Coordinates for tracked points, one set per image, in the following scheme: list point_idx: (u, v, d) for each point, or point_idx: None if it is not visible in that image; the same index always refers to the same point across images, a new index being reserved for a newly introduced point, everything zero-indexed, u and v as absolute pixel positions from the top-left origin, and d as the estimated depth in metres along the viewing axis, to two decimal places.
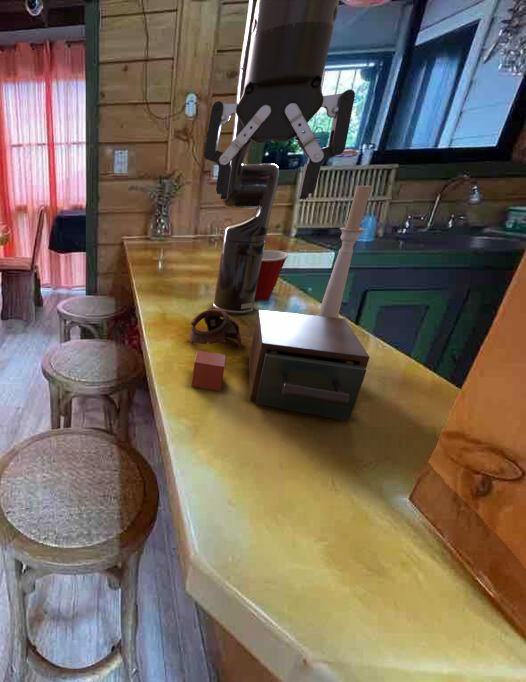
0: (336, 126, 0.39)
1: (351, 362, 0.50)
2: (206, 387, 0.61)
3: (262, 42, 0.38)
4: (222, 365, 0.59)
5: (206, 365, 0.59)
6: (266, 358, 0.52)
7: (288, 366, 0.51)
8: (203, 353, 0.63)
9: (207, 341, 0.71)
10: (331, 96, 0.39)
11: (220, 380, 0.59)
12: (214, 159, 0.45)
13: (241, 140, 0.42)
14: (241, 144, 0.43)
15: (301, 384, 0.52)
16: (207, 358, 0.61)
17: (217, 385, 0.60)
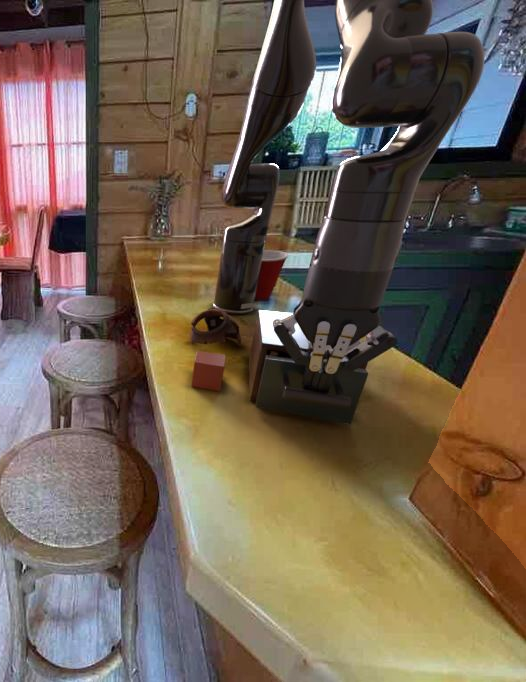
0: (364, 353, 0.43)
1: None
2: (206, 387, 0.61)
3: (325, 276, 0.40)
4: (222, 365, 0.59)
5: (206, 365, 0.59)
6: (266, 361, 0.51)
7: (288, 368, 0.51)
8: (203, 353, 0.63)
9: (207, 341, 0.71)
10: (382, 330, 0.42)
11: (220, 380, 0.59)
12: (303, 363, 0.47)
13: (319, 351, 0.45)
14: (322, 353, 0.45)
15: (301, 387, 0.51)
16: (207, 358, 0.61)
17: (217, 385, 0.60)
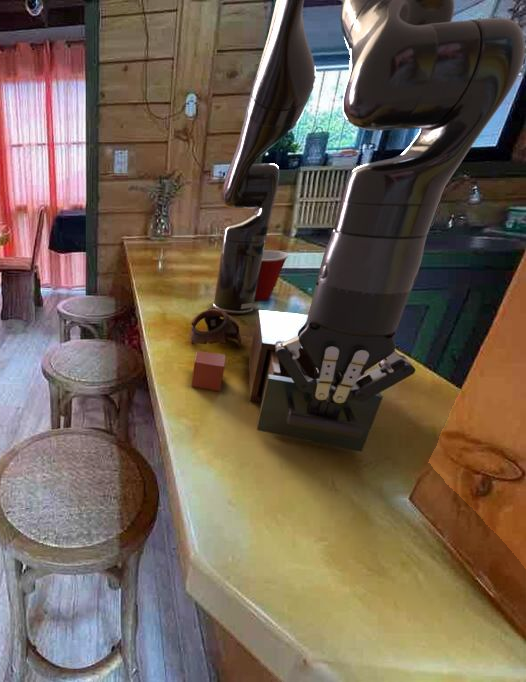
0: (377, 381, 0.39)
1: None
2: (206, 387, 0.61)
3: (335, 297, 0.36)
4: (222, 365, 0.59)
5: (206, 365, 0.59)
6: (269, 381, 0.46)
7: (293, 390, 0.46)
8: (203, 353, 0.63)
9: (207, 341, 0.71)
10: (397, 357, 0.38)
11: (220, 380, 0.59)
12: (309, 390, 0.42)
13: (327, 378, 0.40)
14: (330, 381, 0.40)
15: None
16: (207, 358, 0.61)
17: (217, 385, 0.60)
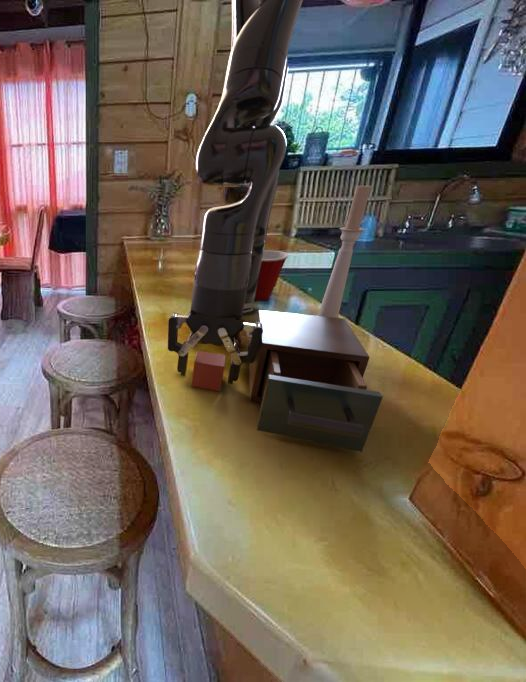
0: (250, 346, 0.56)
1: (364, 386, 0.45)
2: (206, 387, 0.61)
3: (199, 292, 0.55)
4: (222, 365, 0.59)
5: (206, 365, 0.59)
6: (269, 381, 0.46)
7: (293, 390, 0.46)
8: (203, 353, 0.63)
9: None
10: (249, 326, 0.56)
11: (220, 380, 0.59)
12: (175, 350, 0.62)
13: (191, 344, 0.59)
14: (192, 346, 0.59)
15: (307, 410, 0.46)
16: (207, 358, 0.61)
17: (217, 385, 0.60)
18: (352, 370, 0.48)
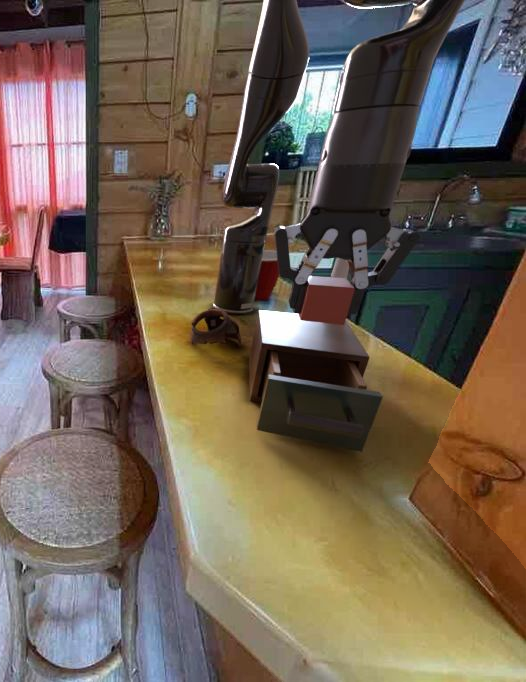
0: (390, 259, 0.41)
1: (364, 386, 0.45)
2: (323, 320, 0.44)
3: (334, 175, 0.38)
4: (351, 286, 0.42)
5: (327, 288, 0.43)
6: (269, 381, 0.46)
7: (293, 390, 0.46)
8: (315, 277, 0.46)
9: (207, 341, 0.71)
10: (398, 230, 0.40)
11: (346, 308, 0.43)
12: (289, 277, 0.45)
13: (314, 261, 0.43)
14: (315, 265, 0.43)
15: (307, 410, 0.46)
16: (324, 281, 0.45)
17: (341, 316, 0.44)
18: (352, 370, 0.48)
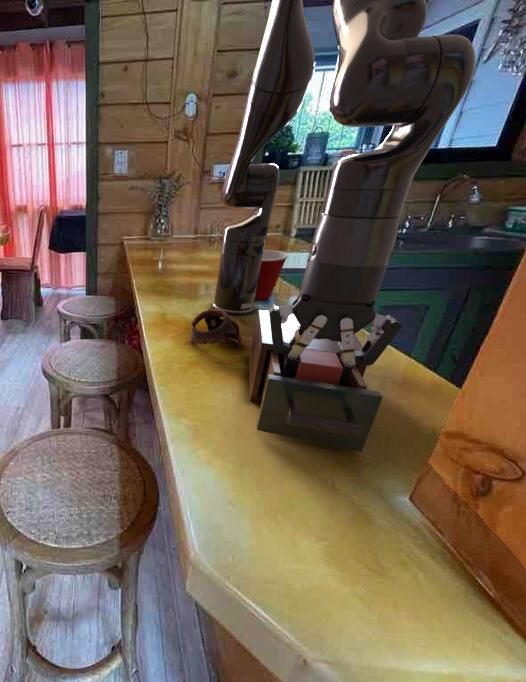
0: (375, 344, 0.44)
1: (364, 386, 0.45)
2: None
3: (322, 271, 0.42)
4: (339, 366, 0.46)
5: (318, 366, 0.46)
6: (269, 381, 0.46)
7: (293, 390, 0.46)
8: (307, 351, 0.50)
9: (207, 341, 0.71)
10: (382, 318, 0.43)
11: None
12: (282, 352, 0.49)
13: (305, 342, 0.46)
14: (306, 344, 0.46)
15: (307, 410, 0.46)
16: (315, 357, 0.48)
17: None
18: (352, 370, 0.48)
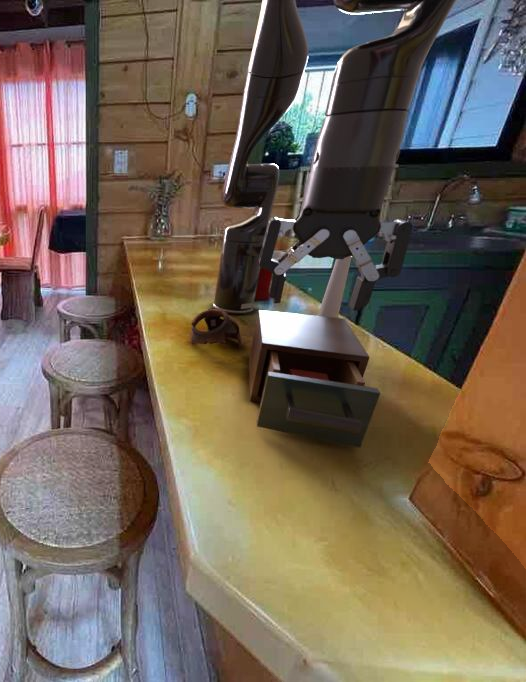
0: (393, 252, 0.41)
1: (362, 383, 0.46)
2: None
3: (325, 177, 0.39)
4: None
5: None
6: (268, 378, 0.47)
7: (292, 387, 0.46)
8: (299, 371, 0.52)
9: (207, 341, 0.71)
10: (389, 224, 0.41)
11: None
12: (269, 268, 0.47)
13: (298, 256, 0.44)
14: (298, 260, 0.44)
15: (306, 407, 0.47)
16: None
17: None
18: (350, 367, 0.49)
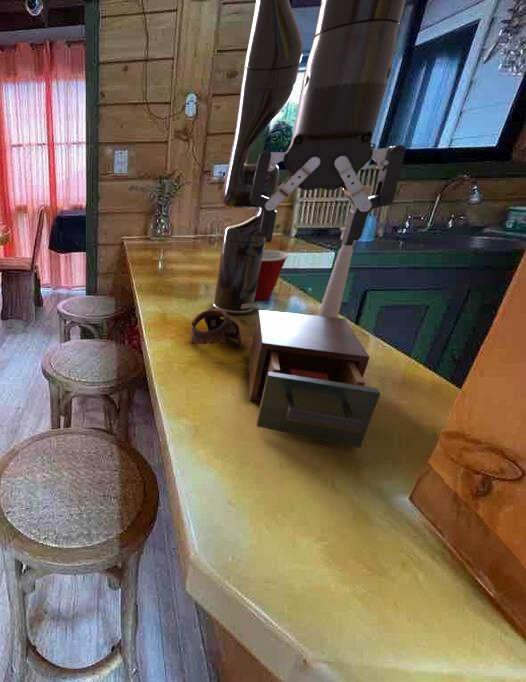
0: (385, 178, 0.40)
1: (362, 383, 0.46)
2: None
3: (315, 98, 0.39)
4: None
5: None
6: (268, 378, 0.47)
7: (292, 387, 0.46)
8: (299, 371, 0.52)
9: (207, 341, 0.71)
10: (381, 150, 0.40)
11: None
12: (259, 204, 0.46)
13: (288, 188, 0.43)
14: (288, 192, 0.43)
15: (306, 407, 0.47)
16: None
17: None
18: (350, 367, 0.49)
